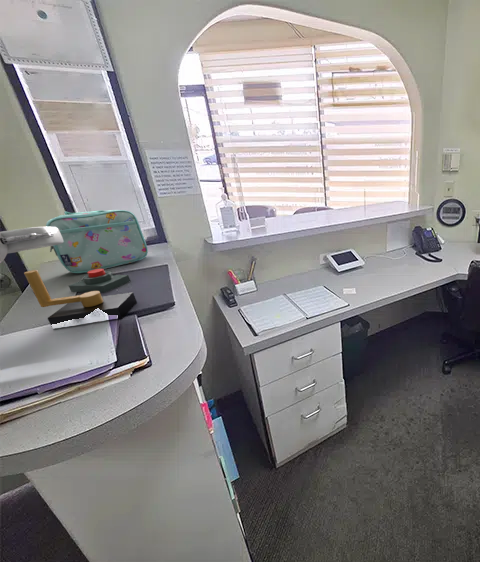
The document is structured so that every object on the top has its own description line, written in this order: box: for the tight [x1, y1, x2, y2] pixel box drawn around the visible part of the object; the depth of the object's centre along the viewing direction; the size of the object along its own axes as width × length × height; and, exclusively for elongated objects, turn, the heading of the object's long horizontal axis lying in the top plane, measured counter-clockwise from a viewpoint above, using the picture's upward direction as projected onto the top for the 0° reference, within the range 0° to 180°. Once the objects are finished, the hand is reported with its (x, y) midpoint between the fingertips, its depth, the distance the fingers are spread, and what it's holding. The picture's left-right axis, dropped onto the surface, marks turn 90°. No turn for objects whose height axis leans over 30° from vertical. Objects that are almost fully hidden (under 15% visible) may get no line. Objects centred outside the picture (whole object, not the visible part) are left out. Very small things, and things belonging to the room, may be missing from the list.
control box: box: [67, 270, 131, 293], centre depth 98 cm, size 12×9×4 cm
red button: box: [86, 269, 106, 278], centre depth 97 cm, size 4×4×2 cm
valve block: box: [47, 291, 138, 326], centre depth 79 cm, size 14×10×3 cm
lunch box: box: [45, 209, 149, 274], centre depth 114 cm, size 27×10×21 cm, turn 136°
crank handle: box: [23, 269, 103, 308], centre depth 75 cm, size 12×4×10 cm, turn 108°
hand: (9, 245), depth 65 cm, fingers open, 8 cm apart
